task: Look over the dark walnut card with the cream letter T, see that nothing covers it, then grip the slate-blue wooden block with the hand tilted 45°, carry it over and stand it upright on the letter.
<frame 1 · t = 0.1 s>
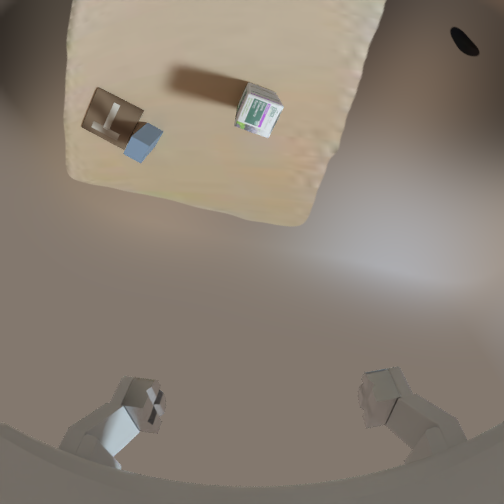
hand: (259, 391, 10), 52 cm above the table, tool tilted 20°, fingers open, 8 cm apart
letter card: (111, 118, 50), on the table
slate block: (151, 134, 53), on the table
syrup box: (256, 99, 49), on the table
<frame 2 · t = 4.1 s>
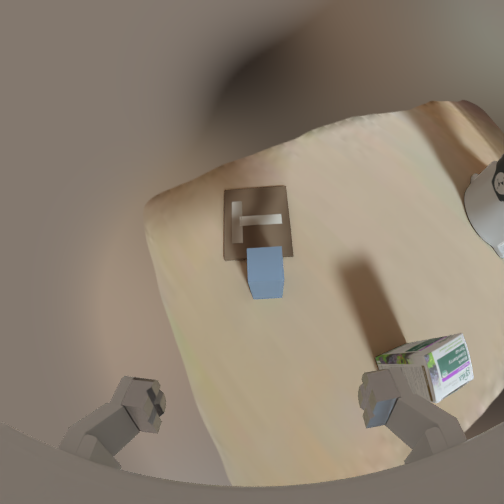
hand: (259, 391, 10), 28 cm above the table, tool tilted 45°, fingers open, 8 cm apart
letter card: (257, 222, 44), on the table
slate block: (267, 284, 41), on the table
syrup box: (396, 368, 35), on the table
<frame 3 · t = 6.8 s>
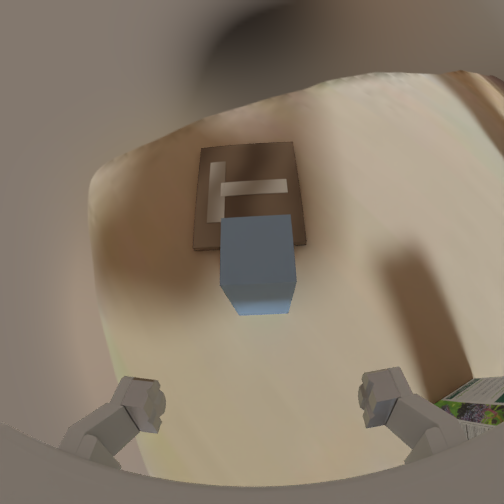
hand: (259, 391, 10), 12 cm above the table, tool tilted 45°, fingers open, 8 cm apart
letter card: (248, 191, 28), on the table
slate block: (262, 291, 24), on the table
syrup box: (457, 415, 18), on the table
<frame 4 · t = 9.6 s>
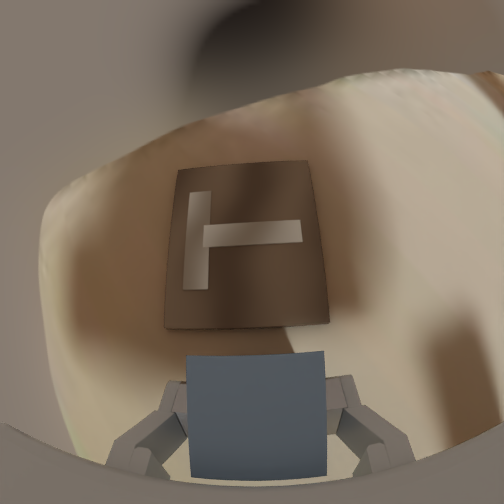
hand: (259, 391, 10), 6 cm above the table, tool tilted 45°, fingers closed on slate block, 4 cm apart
letter card: (243, 238, 19), on the table
slate block: (264, 393, 15), on the table, touching gripper
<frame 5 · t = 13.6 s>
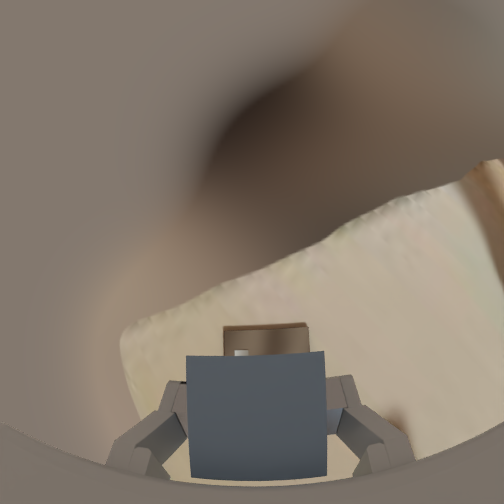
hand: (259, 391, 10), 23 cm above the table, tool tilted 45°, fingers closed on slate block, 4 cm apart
letter card: (268, 378, 31), on the table
slate block: (264, 393, 15), point 17 cm above the table, touching gripper
when the fingers open (8 cm above the table, at t = 17.6 s): slate block drops 1 cm, resting on letter card.
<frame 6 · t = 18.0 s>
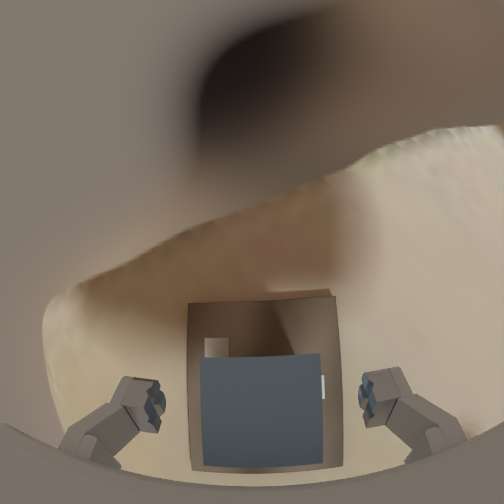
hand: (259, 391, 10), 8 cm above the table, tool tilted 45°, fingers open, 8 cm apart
letter card: (264, 390, 17), on the table
slate block: (266, 391, 16), point 1 cm above the table, touching letter card
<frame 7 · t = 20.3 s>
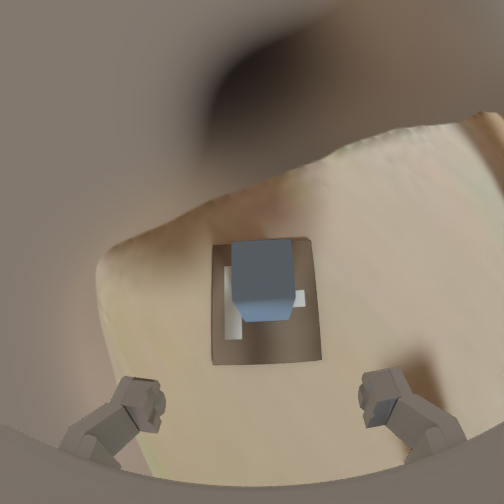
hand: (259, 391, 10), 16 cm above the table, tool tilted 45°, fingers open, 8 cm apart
letter card: (264, 301, 27), on the table
slate block: (266, 300, 27), point 1 cm above the table, touching letter card
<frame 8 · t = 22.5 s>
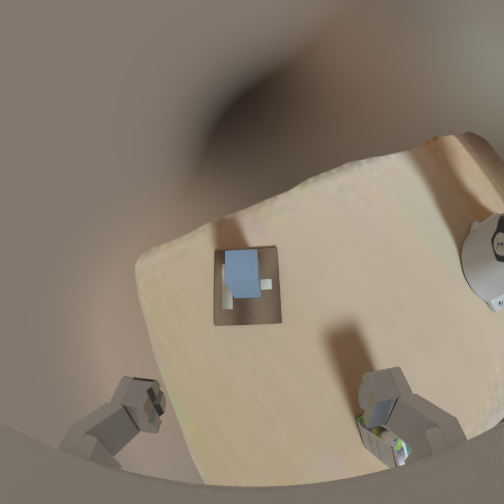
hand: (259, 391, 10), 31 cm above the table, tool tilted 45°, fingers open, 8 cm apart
letter card: (247, 286, 44), on the table
slate block: (247, 285, 44), point 1 cm above the table, touching letter card
syrup box: (376, 426, 34), on the table
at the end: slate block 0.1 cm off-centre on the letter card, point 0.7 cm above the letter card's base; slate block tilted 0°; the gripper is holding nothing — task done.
